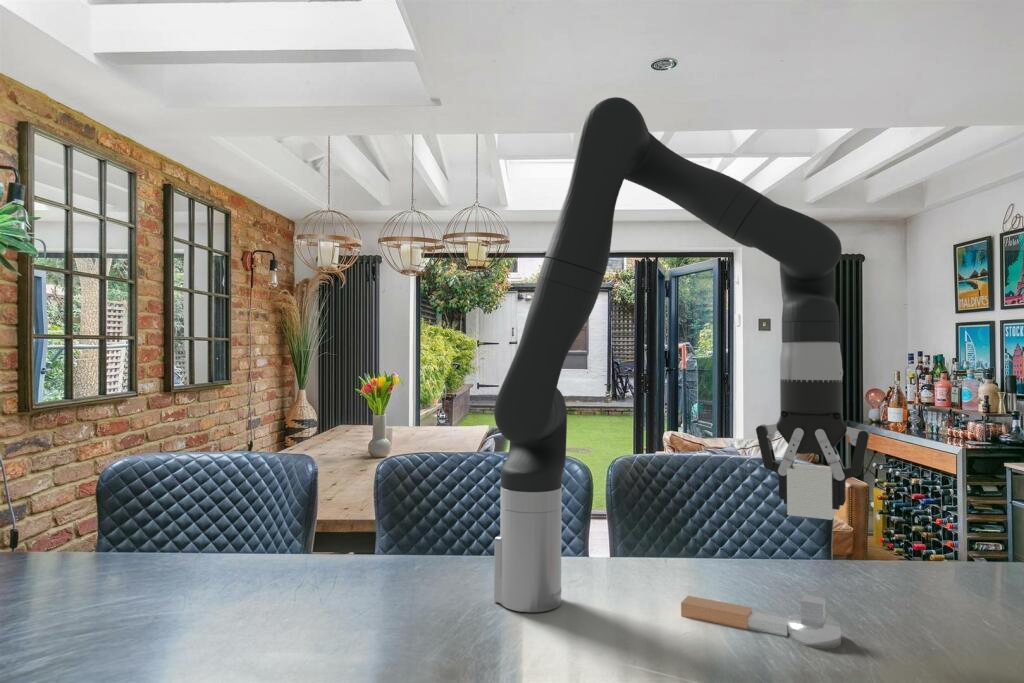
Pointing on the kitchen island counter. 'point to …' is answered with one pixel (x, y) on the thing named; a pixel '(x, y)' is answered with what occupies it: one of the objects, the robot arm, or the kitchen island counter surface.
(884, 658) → the kitchen island counter surface
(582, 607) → the kitchen island counter surface
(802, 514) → the light grey block
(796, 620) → the ratchet
